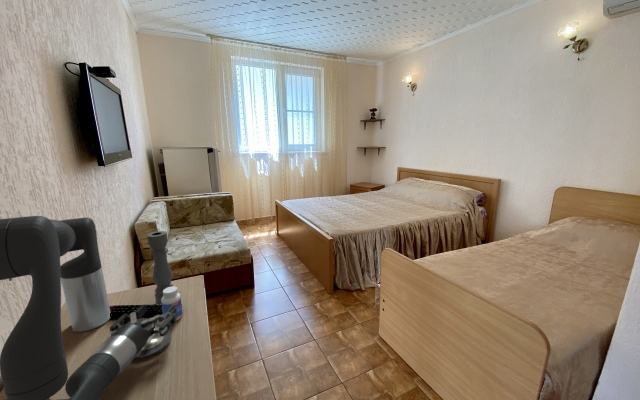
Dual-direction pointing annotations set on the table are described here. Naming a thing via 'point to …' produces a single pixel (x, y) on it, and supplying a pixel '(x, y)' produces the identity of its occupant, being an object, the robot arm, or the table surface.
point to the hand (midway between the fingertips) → (160, 307)
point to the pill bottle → (171, 301)
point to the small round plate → (154, 345)
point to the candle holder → (160, 263)
